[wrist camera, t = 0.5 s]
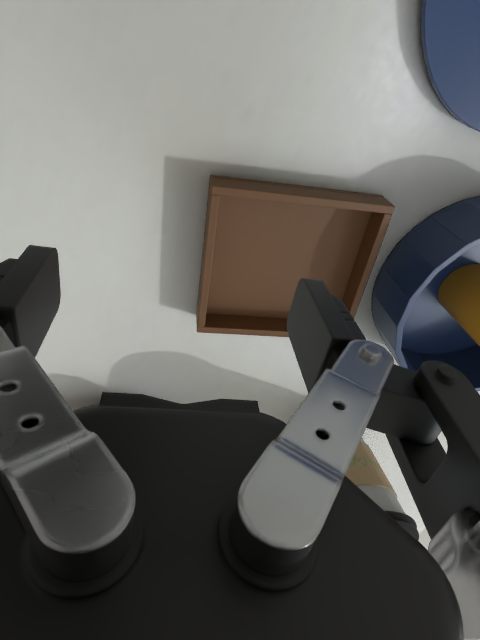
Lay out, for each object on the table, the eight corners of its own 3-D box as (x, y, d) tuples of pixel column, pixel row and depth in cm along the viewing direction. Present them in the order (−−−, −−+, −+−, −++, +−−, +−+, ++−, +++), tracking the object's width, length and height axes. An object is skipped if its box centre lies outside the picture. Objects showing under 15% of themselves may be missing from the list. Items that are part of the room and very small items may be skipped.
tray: (210, 175, 29) (211, 185, 27) (381, 195, 31) (395, 206, 29) (196, 315, 36) (196, 332, 34) (337, 323, 38) (346, 340, 36)
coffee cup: (369, 389, 43) (439, 528, 31) (358, 444, 49) (414, 580, 37) (283, 399, 43) (320, 544, 31) (282, 453, 48) (313, 595, 36)
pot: (412, 182, 31) (450, 207, 26) (596, 205, 33) (658, 231, 29) (348, 351, 40) (368, 390, 36) (495, 358, 43) (531, 395, 38)
